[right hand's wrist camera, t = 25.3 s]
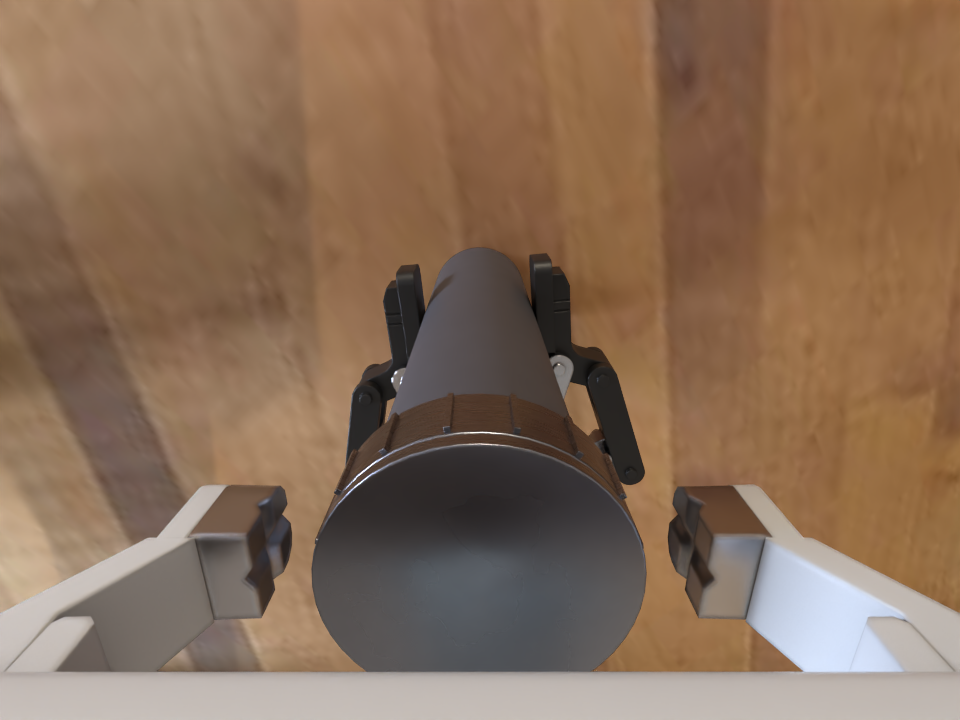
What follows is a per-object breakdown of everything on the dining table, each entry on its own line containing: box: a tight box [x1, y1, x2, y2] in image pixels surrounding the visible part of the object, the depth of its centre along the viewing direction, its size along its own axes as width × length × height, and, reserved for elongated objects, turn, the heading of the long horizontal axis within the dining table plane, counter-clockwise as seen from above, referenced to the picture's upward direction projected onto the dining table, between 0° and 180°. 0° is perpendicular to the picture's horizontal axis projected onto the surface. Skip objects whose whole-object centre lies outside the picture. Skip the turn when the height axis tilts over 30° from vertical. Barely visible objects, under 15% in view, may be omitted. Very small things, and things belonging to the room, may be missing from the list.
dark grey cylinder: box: [387, 248, 569, 422], centre depth 19 cm, size 5×5×20 cm
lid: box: [312, 393, 646, 672], centre depth 10 cm, size 6×6×2 cm
